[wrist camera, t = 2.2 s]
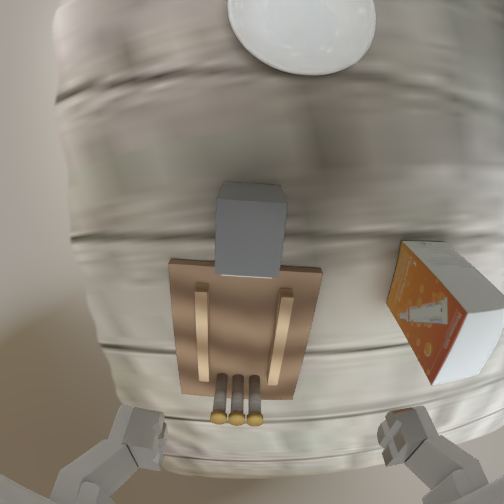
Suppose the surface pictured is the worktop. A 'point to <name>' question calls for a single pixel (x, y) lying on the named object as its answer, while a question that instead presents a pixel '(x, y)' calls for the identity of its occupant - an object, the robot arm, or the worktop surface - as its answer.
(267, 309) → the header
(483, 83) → the worktop surface
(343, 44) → the spoon rest
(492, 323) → the small box
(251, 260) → the grey block
